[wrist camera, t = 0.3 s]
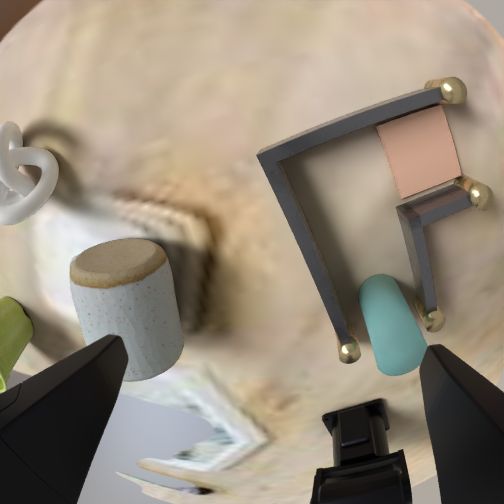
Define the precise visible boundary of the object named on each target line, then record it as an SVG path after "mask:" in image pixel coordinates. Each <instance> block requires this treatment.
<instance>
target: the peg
mask: <svg viewBox="0 0 504 504" xmlns="http://www.w3.org/2000/svg"><path fill="white" fill-rule="evenodd" d="M358 299H359V302H360V306H361V309H362V312H363V316H364V319H365V323H366V326H367V330H368V333H369V337H370V340H371V344H372V348H373V351H374V355H375V359H376V363H377V367H378V369H379V370H380V371H381V372H382V373H384V374H386V375H390V376H398V375H403V374H406V373H408V372H410V371H412V370H414V369H415V368H417V367H418V366H419V365H420V364H421V362H422V359H423V357H424V354H425V351H426V349H427V347H428V346H427V343H426V341H425V339H424V337H423V335H422V332H421V330H420V328H419V326H418V324H417V322H416V320H415V318H414V316H413V314H412V312H411V310H410V308H409V306H408V304H407V302H406V300H405V298H404V296H403V294H402V292H401V290H400V288H399V286H398V284H397V283H396V281H395V280H394V279H393V278H392V277H391V276H389V275H385V274H378V275H374V276H372V277H370V278H368V279H367V280H366V281H365V282H364V283H363V284H362V285H361V287H360V289H359V292H358Z"/></svg>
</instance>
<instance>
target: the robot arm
mask: <svg viewBox="0 0 504 504" xmlns="http://www.w3.org/2000/svg"><path fill="white" fill-rule="evenodd" d="M128 361H129V357H128V353H127V350H126V347H125V344H124V342H123V339H122V337H121V336H119V335H114V334H108V335H106V336H104V337H102V338H100V339H99V340H97V341H95V342H93V343H91V344H90V345H88V346H86V347H84V348H82V349H81V350H79V351H77V352H75V353H73V354H72V355H70V356H68V357H66V358H65V359H63V360H61V361H59V362H57V363H56V364H54V365H52V366H50V367H48V368H47V369H45V370H43V371H41V372H39V373H38V374H36V375H34V376H32V377H30V378H29V379H27V380H25V381H23V382H22V383H19V384H18V385H16V386H14V387H12V388H11V389H9V390H7V391H5V392H3V393H1V394H0V504H77V502H78V499H79V496H80V493H81V490H82V488H83V485H84V482H85V479H86V477H87V474H88V471H89V468H90V466H91V463H92V460H93V458H94V455H95V453H96V450H97V448H98V445H99V443H100V440H101V438H102V435H103V433H104V430H105V428H106V425H107V423H108V420H109V418H110V415H111V413H112V411H113V408H114V406H115V403H116V400H117V397H118V394H119V391H120V388H121V384H122V381H123V378H124V375H125V371H126V368H127V365H128ZM419 373H420V380H421V386H422V393H423V400H424V408H425V415H426V421H427V425H428V430H429V434H430V439H431V444H432V449H433V454H434V459H435V464H436V470H437V476H438V482H439V488H440V496H441V503H442V504H504V392H503V391H501V390H500V389H499V388H498V387H496V386H495V385H494V384H493V383H491V382H490V381H489V380H487V379H486V378H485V377H484V376H482V375H481V374H480V373H478V372H477V371H476V370H475V369H473V368H472V367H471V366H469V365H468V364H467V363H465V362H464V361H463V360H461V359H460V358H459V357H458V356H456V355H455V354H454V353H452V352H451V351H450V350H448V349H447V348H446V347H444V346H443V345H441V344H435V345H429V346H428V347H427V349H426V351H425V354H424V357H423V359H422V362H421V365H420V370H419ZM322 421H323V422H324V424H325V426H326V427H327V429H328V431H329V432H330V434H331V436H332V437H333V457H334V467H329V468H318V469H317V471H316V475H315V477H314V485H313V492H312V498H311V501H310V504H412V492H411V485H410V479H409V474H408V469H407V465H406V460H405V455H404V451H403V449H402V450H398V452H394V453H391V454H390V453H389V447H388V442H387V436H386V431H387V430H389V428H390V427H389V423H388V419H387V416H386V412H385V408H384V405H383V401H382V400H381V399H378V400H374V401H371V402H368V403H364V404H361V405H358V406H354V407H351V408H347V409H344V410H340V411H336V412H332V413H328V414H325V415H323V416H322Z"/></svg>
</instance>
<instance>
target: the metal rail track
mask: <svg viewBox="0 0 504 504" xmlns="http://www.w3.org/2000/svg"><path fill="white" fill-rule="evenodd" d="M466 98H467V89H466V86H465V84H464V83H463V81H462V80H460V79H459V78H457V77H449V78H442V79H435V80H430V81H428V82H427V83H426V84H425V87H424V89H421V90H417V91H414V92H411V93H408V94H405V95H401V96H398V97H395V98H392V99H389V100H386V101H383V102H380V103H377V104H375V105H372V106H369V107H366V108H363V109H360V110H358V111H355V112H352V113H349V114H347V115H344V116H341V117H339V118H336V119H334V120H331V121H328V122H326V123H323V124H321V125H318V126H316V127H313V128H311V129H308V130H306V131H303V132H301V133H299V134H296V135H294V136H291V137H289V138H287V139H284V140H282V141H280V142H277V143H275V144H273V145H270V146H268V147H266V148H264V149H261V150H260V151H259V152H258V154H257V155H256V156H257V158H258V160H259V162H260V164H261V166H262V168H263V170H264V172H265V174H266V176H267V178H268V180H269V183H270V185H271V187H272V189H273V191H274V193H275V195H276V197H277V199H278V202H279V204H280V206H281V208H282V210H283V212H284V215H285V217H286V219H287V221H288V223H289V225H290V228H291V230H292V232H293V234H294V236H295V239H296V241H297V243H298V245H299V248H300V250H301V252H302V254H303V257H304V259H305V261H306V263H307V266H308V268H309V270H310V272H311V275H312V277H313V279H314V282H315V284H316V286H317V289H318V291H319V293H320V296H321V298H322V300H323V303H324V305H325V307H326V310H327V312H328V315H329V317H330V319H331V322H332V324H333V327H334V329H335V332H336V338H337V345H338V351H339V358H340V361H341V362H343V363H346V364H350V363H354V362H356V361H357V360H358V359H359V358H360V356H361V353H360V348H359V344H358V339H357V335H356V331H355V327H354V325H353V324H351V323H348V322H347V319H346V317H345V314H344V311H343V309H342V306H341V304H340V301H339V298H338V296H337V293H336V291H335V288H334V286H333V283H332V281H331V278H330V275H329V273H328V270H327V268H326V266H325V263H324V261H323V258H322V256H321V253H320V251H319V249H318V246H317V244H316V241H315V239H314V237H313V234H312V232H311V230H310V227H309V225H308V223H307V220H306V218H305V216H304V213H303V211H302V209H301V207H300V204H299V202H298V200H297V197H296V195H295V193H294V191H293V189H292V186H291V184H290V182H289V180H288V178H287V175H286V173H285V171H284V169H283V167H282V165H281V163H280V160H283V159H285V158H287V157H290V156H292V155H295V154H297V153H299V152H302V151H304V150H307V149H309V148H312V147H314V146H316V145H319V144H321V143H324V142H327V141H329V140H332V139H334V138H337V137H339V136H342V135H344V134H347V133H350V132H352V131H355V130H358V129H360V128H363V127H366V126H369V125H371V124H374V123H377V122H380V121H382V120H385V119H388V118H391V117H394V116H397V115H400V114H403V113H406V112H409V111H412V110H415V109H418V108H421V107H424V106H427V105H430V104H433V103H439V104H461V103H463V102H464V101H465V100H466ZM492 201H493V193H492V190H491V189H490V188H489V187H488V186H486V185H484V184H482V183H480V182H478V181H476V180H474V179H472V178H469V177H467V176H465V175H461V176H458V177H457V178H456V179H455V181H454V184H452V185H450V186H447V187H445V188H442V189H440V190H437V191H435V192H432V193H430V194H427V195H425V196H422V197H420V198H417V199H415V200H412V201H410V202H407V203H404V204H402V205H399V206H397V207H396V209H397V213H398V216H399V220H400V223H401V227H402V231H403V234H404V238H405V242H406V246H407V250H408V254H409V258H410V263H411V267H412V272H413V276H414V281H415V286H416V291H417V298H416V299H415V302H414V305H415V307H416V309H417V311H418V313H419V315H420V317H421V319H422V321H423V323H424V325H425V327H426V329H427V331H429V332H432V333H433V332H437V331H439V330H440V329H441V328H442V327H443V326H444V324H445V317H444V316H443V314H442V312H441V311H440V309H439V307H438V306H437V303H436V296H435V289H434V283H433V277H432V271H431V265H430V260H429V255H428V250H427V245H426V240H425V236H424V232H423V226H425V225H427V224H430V223H432V222H435V221H437V220H440V219H442V218H444V217H447V216H449V215H451V214H454V213H456V212H459V211H461V210H463V209H466V208H468V207H470V206H474V207H476V208H477V209H479V210H482V211H484V210H486V209H488V208H489V207H490V206H491V204H492Z"/></svg>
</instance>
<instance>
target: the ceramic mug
mask: <svg viewBox="0 0 504 504" xmlns="http://www.w3.org/2000/svg"><path fill="white" fill-rule="evenodd" d="M70 289H71V294H72V298H73V302H74V305H75V308H76V312H77V315H78V319H79V322H80V326H81V329H82V333H83V336H84V340H85V343H86V346H88V345H90V344H91V343H93V342H95V341H97V340H99V339H100V338H102V337H104V336H106V335H108V334H114V335H119V336H121V337H122V339H123V342H124V344H125V347H126V350H127V353H128V357H129V361H128V365H127V368H126V371H125V375H124V378H123V381H126V382H132V381H142V380H146V379H150V378H153V377H155V376H157V375H160V374H162V373H163V372H165V371H167V370H168V369H169V368H171V367H172V366H173V365H174V364H175V363H176V361H177V360H178V359H179V357H180V355H181V353H182V350H183V347H184V337H183V333H182V328H181V323H180V317H179V312H178V307H177V301H176V296H175V290H174V282H173V276H172V271H171V267H170V264H169V261H168V257H167V255H166V253H165V251H164V250H163V249H162V248H161V247H160V246H159V245H157V244H156V243H154V242H151V241H149V240H144V239H131V238H129V239H118V240H113V241H108V242H105V243H101V244H98V245H96V246H93V247H91V248H89V249H87V250H85V251H84V252H82V253H81V254H79V255H77V256H75V257H74V258H72V260H71V262H70Z"/></svg>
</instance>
